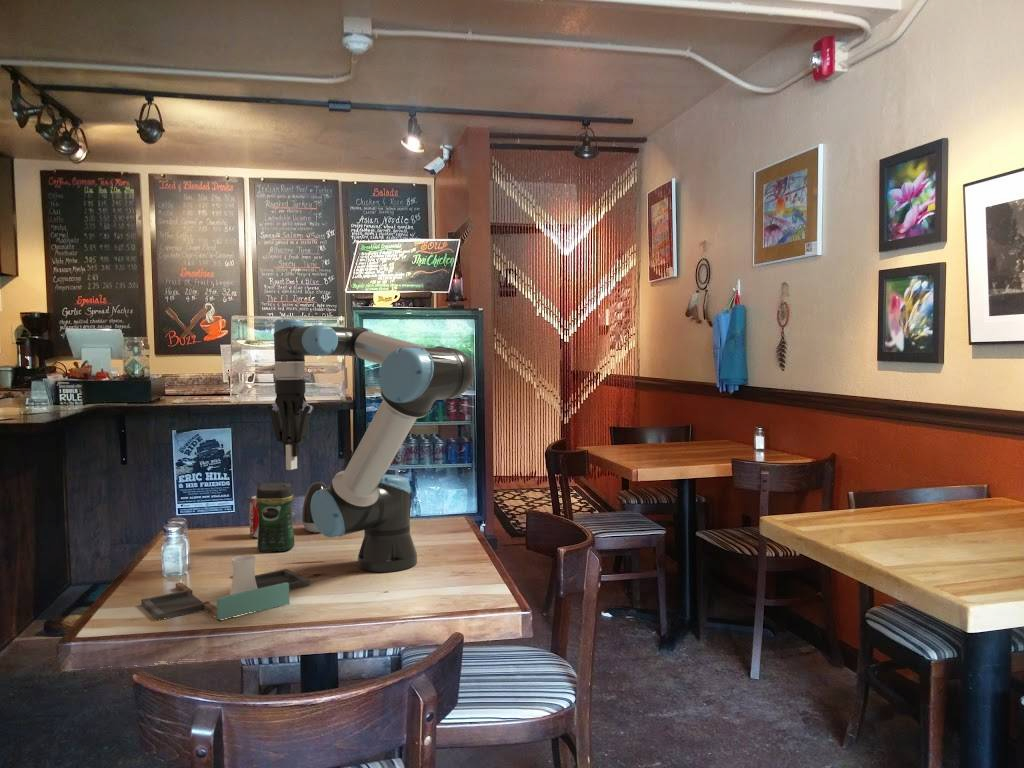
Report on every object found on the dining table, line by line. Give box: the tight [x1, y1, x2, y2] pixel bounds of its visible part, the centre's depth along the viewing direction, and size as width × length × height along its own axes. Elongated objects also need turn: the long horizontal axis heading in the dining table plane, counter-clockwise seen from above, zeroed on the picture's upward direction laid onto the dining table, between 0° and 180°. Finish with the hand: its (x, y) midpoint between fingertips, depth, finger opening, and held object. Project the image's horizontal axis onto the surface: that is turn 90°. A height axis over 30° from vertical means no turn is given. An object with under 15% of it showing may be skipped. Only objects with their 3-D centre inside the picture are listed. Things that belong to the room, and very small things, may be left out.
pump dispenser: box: [301, 481, 329, 534], centre depth 218 cm, size 10×10×15 cm
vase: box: [228, 554, 258, 595], centre depth 153 cm, size 8×8×10 cm
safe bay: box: [216, 582, 290, 620], centre depth 148 cm, size 1×15×4 cm, turn 132°
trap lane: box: [141, 568, 310, 621], centre depth 159 cm, size 27×33×1 cm
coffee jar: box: [255, 482, 295, 553], centre depth 197 cm, size 10×8×19 cm
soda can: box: [248, 495, 259, 539], centre depth 212 cm, size 7×7×12 cm
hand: (291, 468), depth 185 cm, fingers closed
